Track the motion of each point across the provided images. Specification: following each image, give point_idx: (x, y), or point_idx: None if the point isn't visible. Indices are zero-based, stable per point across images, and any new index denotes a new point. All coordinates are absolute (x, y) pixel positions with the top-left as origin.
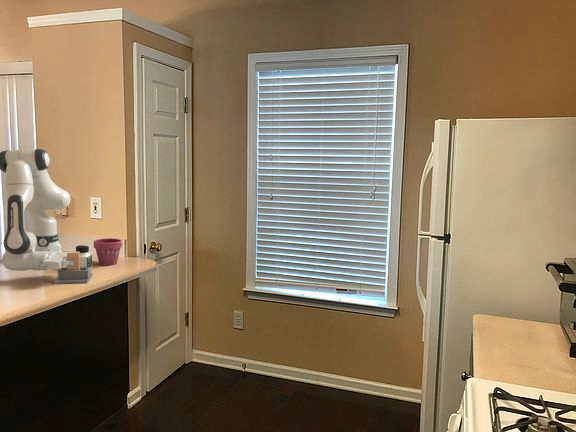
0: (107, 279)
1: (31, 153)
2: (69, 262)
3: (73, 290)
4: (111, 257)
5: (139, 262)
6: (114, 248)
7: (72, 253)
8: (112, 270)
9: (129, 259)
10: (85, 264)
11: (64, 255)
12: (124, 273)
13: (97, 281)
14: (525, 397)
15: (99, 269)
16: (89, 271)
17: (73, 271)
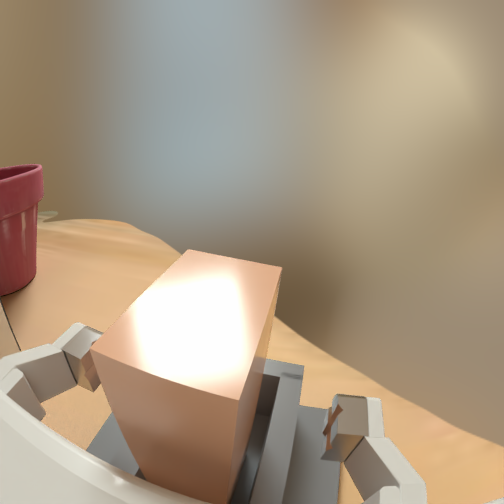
0: (275, 336)
1: None
2: (375, 439)
3: (471, 457)
4: (32, 243)
5: (75, 231)
6: (41, 196)
7: (263, 324)
8: (111, 293)
9: None
10: (6, 337)
11: (39, 443)
12: None
13: (306, 374)
14: None
15: (54, 320)
16: None
17: (287, 463)
